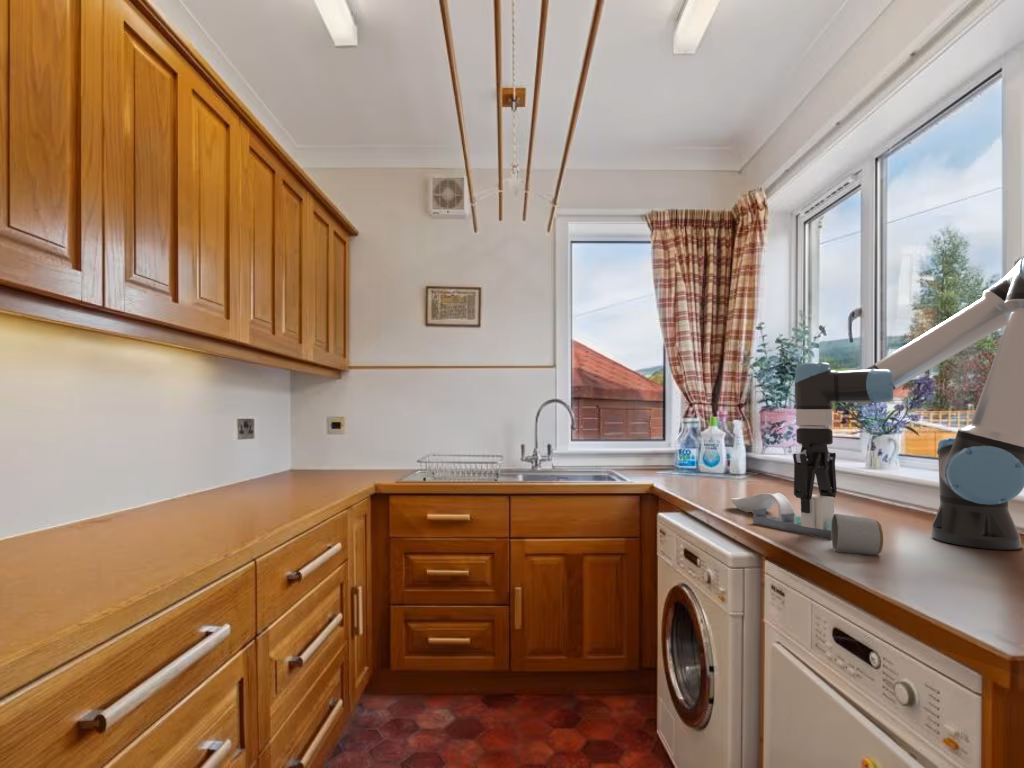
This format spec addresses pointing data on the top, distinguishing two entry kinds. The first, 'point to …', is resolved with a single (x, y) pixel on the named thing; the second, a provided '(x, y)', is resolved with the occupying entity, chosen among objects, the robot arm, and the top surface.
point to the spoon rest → (764, 503)
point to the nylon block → (822, 510)
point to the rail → (789, 523)
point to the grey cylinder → (856, 535)
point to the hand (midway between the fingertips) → (816, 525)
